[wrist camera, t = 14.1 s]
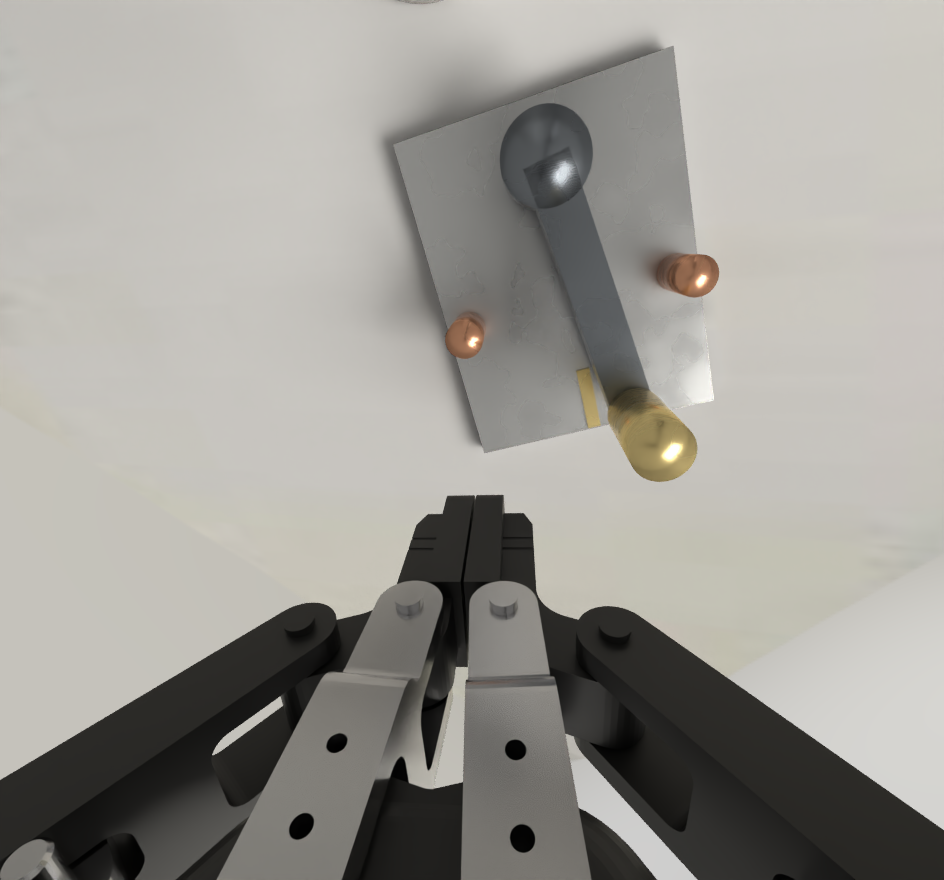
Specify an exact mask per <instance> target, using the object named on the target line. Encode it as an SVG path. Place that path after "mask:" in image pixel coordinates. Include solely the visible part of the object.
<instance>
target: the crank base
mask: <svg viewBox="0 0 944 880" xmlns="http://www.w3.org/2000/svg"><path fill="white" fill-rule="evenodd" d="M544 103H555V104H560V105H563V106H566V107H568V108H569V109H571V110H573V111H574V112H575V113H577V114H578V115H579V116H580V118H581V119H582V120H583V121H584V123H585V124H586V126H587V128H588V130H589V133H590V136H591V140H592V145H593V160H592V165H591V170H590V173H589V175H588V178H587V180H586V182H585V183H584V185H583V190H584V193H585V196H586V199H587V202H588V205H589V208H590V211H591V214H592V217H593V220H594V223H595V226H596V229H597V232H598V235H599V238H600V241H601V244H602V247H603V250H604V253H605V256H606V259H607V262H608V265H609V268H610V271H611V274H612V277H613V280H614V283H615V286H616V289H617V292H618V295H619V298H620V301H621V304H622V307H623V310H624V313H625V316H626V319H627V322H628V325H629V328H630V331H631V335H632V338H633V341H634V344H635V347H636V350H637V353H638V356H639V359H640V362H641V365H642V368H643V371H644V374H645V377H646V380H647V383H648V386H649V389H650V391H652V392H653V393H654V394H656V395H657V396H658V398H659V399H660V400H661V401H662V402H663V403H664V404H665V405H666V406H667V407H668V408H669V409H670V410H673V409H678V408H682V407H686V406H691V405H695V404H699V403H704V402H708V401H712V400H714V398H713V389H712V380H711V371H710V363H709V354H708V345H707V336H706V327H705V319H704V310H703V301H702V296H704V295H706V294H707V293H709V292H710V291H711V290H712V289H713V288H714V286H715V285H716V283H717V281H718V277H719V268H718V265H717V263H716V262H715V260H714V259H713V258H711V257H709V256H707V255H700V254H697V248H696V240H695V231H694V222H693V213H692V204H691V196H690V187H689V178H688V169H687V161H686V152H685V143H684V134H683V125H682V117H681V108H680V99H679V90H678V81H677V73H676V64H675V55H674V46H672V47H669V48H666V49H663V50H660V51H657V52H654V53H652V54H649V55H646V56H643V57H640V58H637V59H635V60H632V61H629V62H626V63H623V64H620V65H617V66H615V67H612V68H609V69H606V70H603V71H600V72H598V73H595V74H592V75H589V76H586V77H583V78H581V79H578V80H575V81H572V82H569V83H566V84H563V85H561V86H558V87H555V88H552V89H549V90H546V91H544V92H541V93H538V94H535V95H532V96H529V97H526V98H524V99H521V100H518V101H515V102H512V103H509V104H507V105H504V106H501V107H498V108H495V109H492V110H490V111H487V112H484V113H481V114H478V115H475V116H472V117H470V118H467V119H464V120H461V121H458V122H455V123H453V124H450V125H447V126H444V127H441V128H438V129H435V130H433V131H430V132H427V133H424V134H421V135H418V136H416V137H413V138H410V139H407V140H404V141H401V142H399V143H396V144H393V146H394V150H395V153H396V157H397V160H398V163H399V167H400V170H401V173H402V177H403V180H404V184H405V187H406V190H407V194H408V197H409V200H410V204H411V207H412V211H413V214H414V217H415V221H416V224H417V227H418V231H419V234H420V238H421V241H422V244H423V248H424V251H425V254H426V258H427V261H428V265H429V268H430V271H431V275H432V278H433V281H434V285H435V288H436V292H437V295H438V298H439V302H440V305H441V308H442V312H443V315H444V319H445V322H446V325H447V329H448V331H447V333H446V337H445V342H446V346H447V348H448V350H449V352H450V353H451V354H452V355H454V356H455V357H456V359H457V363H458V366H459V369H460V373H461V376H462V379H463V383H464V386H465V390H466V393H467V396H468V400H469V403H470V406H471V410H472V413H473V417H474V420H475V423H476V427H477V430H478V433H479V437H480V440H481V444H482V447H483V450H484V453H487V452H492V451H496V450H500V449H505V448H509V447H513V446H518V445H522V444H526V443H531V442H535V441H539V440H544V439H548V438H552V437H557V436H561V435H565V434H570V433H574V432H578V431H583V430H587V429H591V428H595V427H600V426H604V425H608V424H609V422H608V408H607V405H606V402H605V400H604V397H603V394H602V391H601V389H600V386H599V383H598V380H597V378H596V375H595V372H594V370H593V367H592V364H591V361H590V359H589V356H588V353H587V350H586V348H585V345H584V342H583V339H582V337H581V334H580V331H579V329H578V326H577V323H576V320H575V318H574V315H573V312H572V309H571V307H570V304H569V301H568V298H567V296H566V293H565V290H564V288H563V285H562V282H561V279H560V277H559V274H558V271H557V268H556V266H555V263H554V260H553V257H552V255H551V252H550V249H549V247H548V244H547V241H546V238H545V236H544V233H543V230H542V227H541V225H540V222H539V219H538V216H537V214H536V211H533V210H529V209H526V208H524V207H522V206H521V205H519V204H518V203H517V202H516V201H514V200H513V199H512V197H511V196H510V195H509V193H508V192H507V190H506V188H505V186H504V183H503V180H502V176H501V170H500V150H501V145H502V141H503V138H504V136H505V133H506V132H507V130H508V128H509V126H510V125H511V124H512V122H513V121H514V120H515V119H516V118H517V117H518V116H519V115H520V114H521V113H522V112H524V111H525V110H527V109H529V108H531V107H533V106H535V105H539V104H544Z"/></svg>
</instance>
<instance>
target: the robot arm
mask: <svg viewBox="0 0 944 880" xmlns="http://www.w3.org/2000/svg"><path fill="white" fill-rule="evenodd" d="M468 660H469V662H468ZM456 667H468V680H466V685H465V721H464V767H463V769H464V770H463V772H464V773H463V782H462V783H458V784H453V785H449V786H445V787H440V788H435V789H434V784H435V779H436V774H437V769H438V765H439V760H440V756H441V751H442V747H443V742H444V737H445V733H446V728H447V724H448V719H449V714H450V710H451V705H452V701H453V691H452V686H453V682H454V676H455V669H456ZM279 696H281V699H282V703H283V706H282V707H281V708H280V709H278V710H277V711H275V712H274V713H273V714H271V715H270V716H269V717H267V718H266V719H264V720H263V721H262V722H260V723H259V724H258V725H256V726H255V727H253V728H252V729H251V730H250V731H248V732H247V733H245V734H244V735H243V736H241V737H240V738H238V739H237V740H236V741H234V742H233V743H232V744H230V745H229V746H228V747H226V748H225V749H223V750H222V751H221V752H219V753H217V754H215V755H213V756H212V753H213V751H214V749H215V747H216V745H217V744H218V743H219V742H220V740H221V739H222V738H223V737H224V736H226V735H227V734H228V733H229V732H231V731H232V730H234V729H235V728H236V727H238V726H239V725H241V724H242V723H243V722H245V721H246V720H248V719H249V718H250V717H252V716H253V715H255V714H256V713H257V712H259V711H260V710H262V709H263V708H264V707H266V706H267V705H269V704H270V703H271V702H273V701H274V700H276V699H277V698H278V697H279ZM565 733H566V734H569V735H571V736H574V739H575V742H576V744H577V746H578V748H579V750H580V751H581V752H582V754H583V755H584V756H585V757H586V758H587V759H588V760H589V761H590V763H591V764H592V765H593V766H594V767H595V768H596V769H597V770H598V771H599V772H600V773H601V774H602V776H604V778H605V779H606V780H607V781H608V782H609V783H610V784H611V785H612V787H613V788H614V789H615V790H616V791H617V792H618V793H619V794H620V795H621V796H622V798H624V800H625V801H626V802H627V803H628V804H629V805H630V806H631V807H632V808H633V809H634V811H635V812H636V813H637V814H638V815H639V816H640V817H641V818H642V819H643V820H644V822H646V824H647V825H648V826H649V827H650V828H651V829H652V830H653V831H654V832H655V834H656V835H657V836H658V837H659V838H660V839H661V840H662V841H663V842H664V843H665V844H666V846H667V847H668V848H669V849H670V850H671V851H672V852H673V853H674V854H675V855H676V857H678V859H679V860H680V861H681V862H682V863H683V864H684V865H685V866H686V867H687V868H688V870H689V871H690V872H691V873H692V874H693V875H694V876H695V877H696V878H697V879H698V880H944V830H943V829H941V828H940V827H938V826H937V825H936V824H934V823H933V822H931V821H930V820H929V819H927V818H925V817H924V816H923V815H921V814H920V813H918V812H917V811H916V810H914V809H913V808H912V807H910V806H909V805H907V804H906V803H904V802H903V801H901V800H900V799H899V798H897V797H896V796H894V795H893V794H892V793H890V792H889V791H887V790H886V789H884V788H883V787H881V786H880V785H879V784H877V783H876V782H875V781H873V780H872V779H870V778H869V777H867V776H866V775H864V774H863V773H862V772H860V771H859V770H857V769H856V768H855V767H853V766H852V765H850V764H849V763H847V762H846V761H845V760H843V759H842V758H840V757H839V756H838V755H836V754H834V753H833V752H832V751H830V750H829V749H828V748H826V747H825V746H823V745H822V744H820V743H819V742H817V741H816V740H815V739H813V738H812V737H811V736H809V735H808V734H806V733H805V732H803V731H802V730H801V729H799V728H798V727H796V726H795V725H793V724H792V723H791V722H789V721H788V720H786V719H785V718H784V717H782V716H781V715H779V714H778V713H776V712H775V711H774V710H772V709H771V708H769V707H768V706H766V705H765V704H764V703H762V702H761V701H759V700H758V699H757V698H755V697H754V696H752V695H751V694H749V693H748V692H747V691H745V690H744V689H742V688H741V687H739V686H738V685H736V684H735V683H734V682H732V681H731V680H730V679H728V678H727V677H725V676H724V675H722V674H721V673H720V672H718V671H717V670H715V669H714V668H712V667H711V666H710V665H708V664H707V663H705V662H704V661H703V660H701V659H700V658H698V657H697V656H695V655H694V654H693V653H691V652H690V651H688V650H687V649H685V648H684V647H683V646H681V645H680V644H678V643H677V642H676V641H674V640H673V639H671V638H670V637H668V636H667V635H666V634H664V633H663V632H661V631H660V630H658V629H657V628H656V627H654V626H653V625H651V624H650V623H648V622H647V621H646V620H644V619H643V618H641V617H640V616H638V615H637V614H635V613H633V612H631V611H629V610H626V609H623V608H619V607H612V606H603V607H597V608H594V609H591V610H589V611H587V612H586V613H584V614H583V615H582V616H581V617H580V619H579V620H577V619H573V618H569V617H566V616H563V615H560V614H558V613H555V612H553V611H552V610H550V609H549V608H547V607H546V606H545V605H544V604H543V603H542V602H541V600H540V599H539V597H538V595H537V592H536V580H535V562H534V545H533V528H532V523H531V522H530V521H529V519H528V518H527V517H526V516H525V514H524V513H505V512H504V495H477V496H476V500H475V496H474V495H469V496H447V499H446V503H445V506H444V510H443V514H428V515H427V516H426V517H425V518H424V519H422V520H421V521H420V522H419V523H418V524H417V525H416V528H415V531H414V534H413V537H412V540H411V543H410V546H409V550H408V552H407V555H406V558H405V561H404V564H403V567H402V570H401V573H400V576H399V579H398V582H397V584H396V585H394V586H392V587H390V588H389V589H387V590H386V591H385V592H384V593H383V594H382V595H381V596H380V597H379V599H378V600H377V602H376V605H375V607H374V609H373V610H372V611H369V612H367V613H364V614H360V615H356V616H352V617H347V618H343V619H339V620H337V619H336V614H335V612H334V611H333V610H332V608H330V607H329V606H327V605H324V604H321V603H305V604H301V605H297V606H294V607H291V608H289V609H287V610H285V611H284V612H282V613H280V614H278V615H277V616H275V617H273V618H272V619H270V620H268V621H267V622H265V623H263V624H261V625H260V626H258V627H257V628H255V629H253V630H252V631H250V632H248V633H246V634H245V635H243V636H241V637H240V638H238V639H236V640H235V641H233V642H231V643H230V644H228V645H226V646H225V647H223V648H221V649H220V650H218V651H216V652H214V653H213V654H211V655H210V656H208V657H206V658H204V659H203V660H201V661H199V662H198V663H196V664H194V665H193V666H191V667H189V668H188V669H186V670H184V671H183V672H181V673H179V674H178V675H176V676H174V677H173V678H171V679H169V680H168V681H166V682H164V683H163V684H161V685H159V686H157V687H156V688H154V689H152V690H151V691H149V692H147V693H146V694H144V695H143V696H141V697H139V698H137V699H136V700H134V701H132V702H131V703H129V704H127V705H125V706H124V707H122V708H120V709H119V710H117V711H115V712H114V713H112V714H110V715H109V716H107V717H105V718H104V719H102V720H100V721H99V722H97V723H95V724H94V725H92V726H90V727H89V728H87V729H85V730H84V731H82V732H80V733H78V734H77V735H75V736H74V737H72V738H70V739H68V740H67V741H65V742H63V743H62V744H60V745H58V746H57V747H55V748H53V749H52V750H50V751H48V752H47V753H45V754H43V755H42V756H40V757H38V758H37V759H35V760H33V761H31V762H30V763H28V764H26V765H25V766H23V767H21V768H20V769H18V770H17V771H15V772H13V773H11V774H10V775H8V776H6V777H5V778H3V779H1V780H0V880H657V879H656V878H655V877H654V876H653V874H652V873H651V872H650V871H649V869H648V868H647V867H646V866H645V865H644V863H643V862H642V861H641V859H640V858H639V857H638V856H637V855H636V853H635V852H634V851H633V850H632V849H631V848H630V847H629V845H628V844H626V842H624V841H623V840H622V839H621V838H620V837H619V836H618V835H617V834H616V833H615V832H614V831H613V830H612V829H610V828H609V827H608V826H607V825H605V824H604V823H602V821H600V820H598V819H597V818H595V817H594V816H592V815H591V814H589V813H587V812H586V811H583V810H581V809H580V808H579V807H578V802H577V796H576V791H575V785H574V780H573V774H572V769H571V763H570V757H569V752H568V746H567V741H566V735H565Z"/></svg>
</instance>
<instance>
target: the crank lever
mask: <svg viewBox="0 0 944 880" xmlns="http://www.w3.org/2000/svg"><path fill="white" fill-rule="evenodd" d="M592 160H593V145H592V140H591V136H590V133H589V130H588V128H587V126H586V124H585V123H584V121H583V120H582V119H581V118H580V116H579V115H578V114H577V113H575V112H574V111H573V110H571V109H569V108H568V107H566V106H563V105H560V104H555V103H544V104H539V105H535V106H533V107H531V108H529V109H527V110H525V111H524V112H522V113H521V114H520V115H519V116H518V117H517V118H516V119H515V120H514V121H513V122H512V124H511V125H510V126H509V128H508V130H507V132H506V133H505V136H504V138H503V141H502V145H501V150H500V170H501V176H502V180H503V183H504V186H505V188H506V190H507V192H508V193H509V195H510V196H511V197H512V199H513V200H514V201H516V202H517V203H518V204H519V205H521V206H522V207H524V208H526V209H529V210H533V211H536V214H537V216H538V219H539V222H540V225H541V227H542V230H543V233H544V236H545V238H546V241H547V244H548V247H549V249H550V252H551V255H552V257H553V260H554V263H555V266H556V268H557V271H558V274H559V277H560V279H561V282H562V285H563V288H564V290H565V293H566V296H567V298H568V301H569V304H570V307H571V309H572V312H573V315H574V318H575V320H576V323H577V326H578V329H579V331H580V334H581V337H582V339H583V342H584V345H585V348H586V350H587V353H588V356H589V359H590V361H591V364H592V367H593V370H594V372H595V375H596V378H597V380H598V383H599V386H600V389H601V391H602V394H603V397H604V400H605V402H606V405H607V408H608V422H609V424H610V427H611V428H612V430H613V432H614V434H615V436H616V438H617V439H618V441H619V443H620V445H621V447H622V449H623V450H624V452H625V454H626V456H627V458H628V460H629V461H630V463H631V465H632V467H633V469H634V470H635V471H636V472H637V473H638V474H639V475H640V476H641V477H643V478H645V479H647V480H650V481H656V482H664V481H669V480H673V479H675V478H677V477H679V476H681V475H682V474H684V473H685V472H686V471H687V470H688V469H689V468H690V467H691V465H692V464H693V462H694V460H695V458H696V454H697V442H696V439H695V437H694V435H693V433H692V432H691V431H690V430H689V429H688V428H687V427H686V426H685V425H684V424H683V423H682V422H681V421H680V419H679V418H678V417H677V416H676V415H675V414H674V413H673V412H672V411H671V410H670V409H669V408H668V407H667V406H666V405H665V404H664V403H663V402H662V401H661V400H660V399H659V398H658V396H657V395H656V394H654V393H653V392H652V391H650V389H649V386H648V383H647V380H646V377H645V374H644V371H643V368H642V365H641V362H640V359H639V356H638V353H637V350H636V347H635V344H634V341H633V338H632V335H631V331H630V328H629V325H628V322H627V319H626V316H625V313H624V310H623V307H622V304H621V301H620V298H619V295H618V292H617V289H616V286H615V283H614V280H613V277H612V274H611V271H610V268H609V265H608V262H607V259H606V256H605V253H604V250H603V247H602V244H601V241H600V238H599V235H598V232H597V229H596V226H595V223H594V220H593V217H592V214H591V211H590V208H589V205H588V202H587V199H586V196H585V193H584V190H583V185H584V183H585V182H586V180H587V178H588V175H589V173H590V170H591V165H592Z"/></svg>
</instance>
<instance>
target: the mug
mask: <svg viewBox="0 0 944 880" xmlns="http://www.w3.org/2000/svg"><path fill="white" fill-rule="evenodd" d="M399 1H403V2H408V3H415V4H427V3H435V2H439V1H442V0H399Z"/></svg>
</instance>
